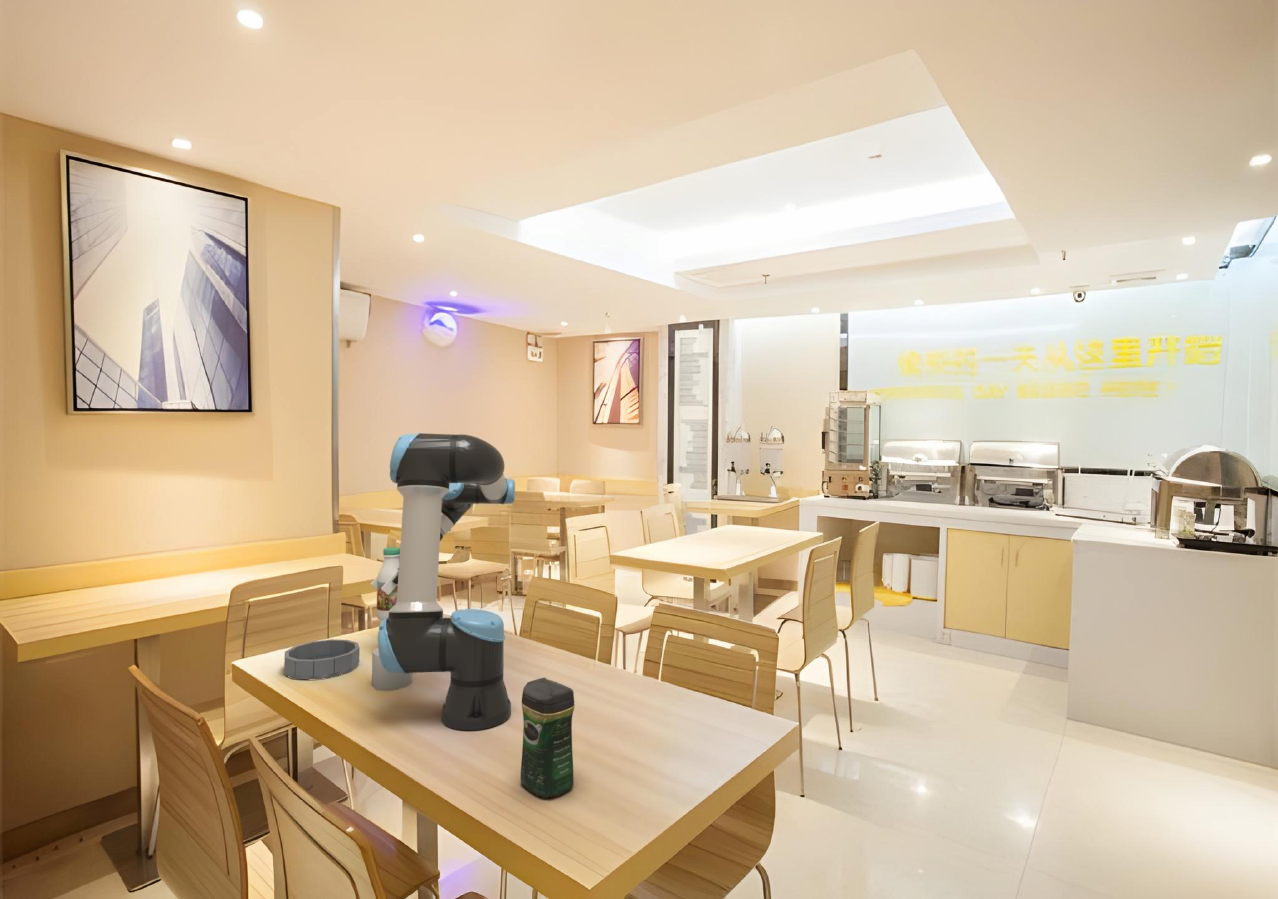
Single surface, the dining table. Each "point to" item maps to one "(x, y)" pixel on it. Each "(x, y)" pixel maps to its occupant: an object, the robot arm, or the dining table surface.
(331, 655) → the bowl
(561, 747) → the coffee jar
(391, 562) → the milk bottle
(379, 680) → the toilet tissue
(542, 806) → the dining table surface
